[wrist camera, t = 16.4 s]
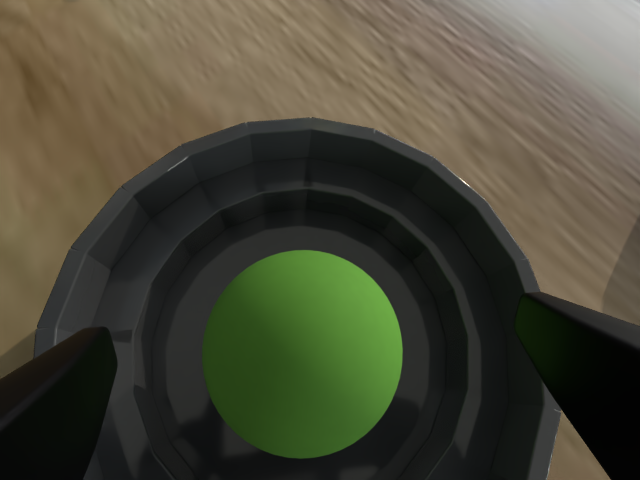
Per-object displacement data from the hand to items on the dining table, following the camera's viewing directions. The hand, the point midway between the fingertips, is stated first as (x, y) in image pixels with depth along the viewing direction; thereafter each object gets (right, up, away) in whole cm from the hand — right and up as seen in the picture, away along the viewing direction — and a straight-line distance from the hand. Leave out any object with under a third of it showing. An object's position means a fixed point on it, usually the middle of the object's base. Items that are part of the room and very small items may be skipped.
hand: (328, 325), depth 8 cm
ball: (-1, -2, +4) cm, 5 cm away
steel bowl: (-1, -3, +8) cm, 8 cm away
